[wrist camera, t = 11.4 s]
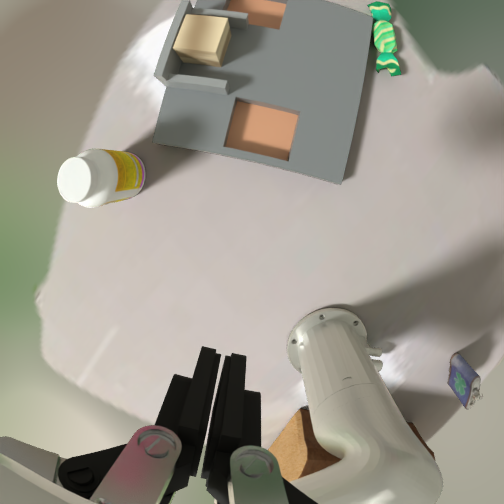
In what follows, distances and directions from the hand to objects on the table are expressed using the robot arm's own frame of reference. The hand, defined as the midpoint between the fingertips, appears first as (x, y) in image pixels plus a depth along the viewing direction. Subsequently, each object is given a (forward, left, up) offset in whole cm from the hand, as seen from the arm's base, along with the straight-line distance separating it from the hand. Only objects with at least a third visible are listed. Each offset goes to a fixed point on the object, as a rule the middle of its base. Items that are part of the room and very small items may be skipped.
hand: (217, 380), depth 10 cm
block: (+10, -23, -27) cm, 36 cm away
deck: (+2, -22, -29) cm, 37 cm away
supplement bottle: (+18, -4, -29) cm, 35 cm away
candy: (-12, -33, -30) cm, 46 cm away
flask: (-47, +17, -29) cm, 58 cm away
